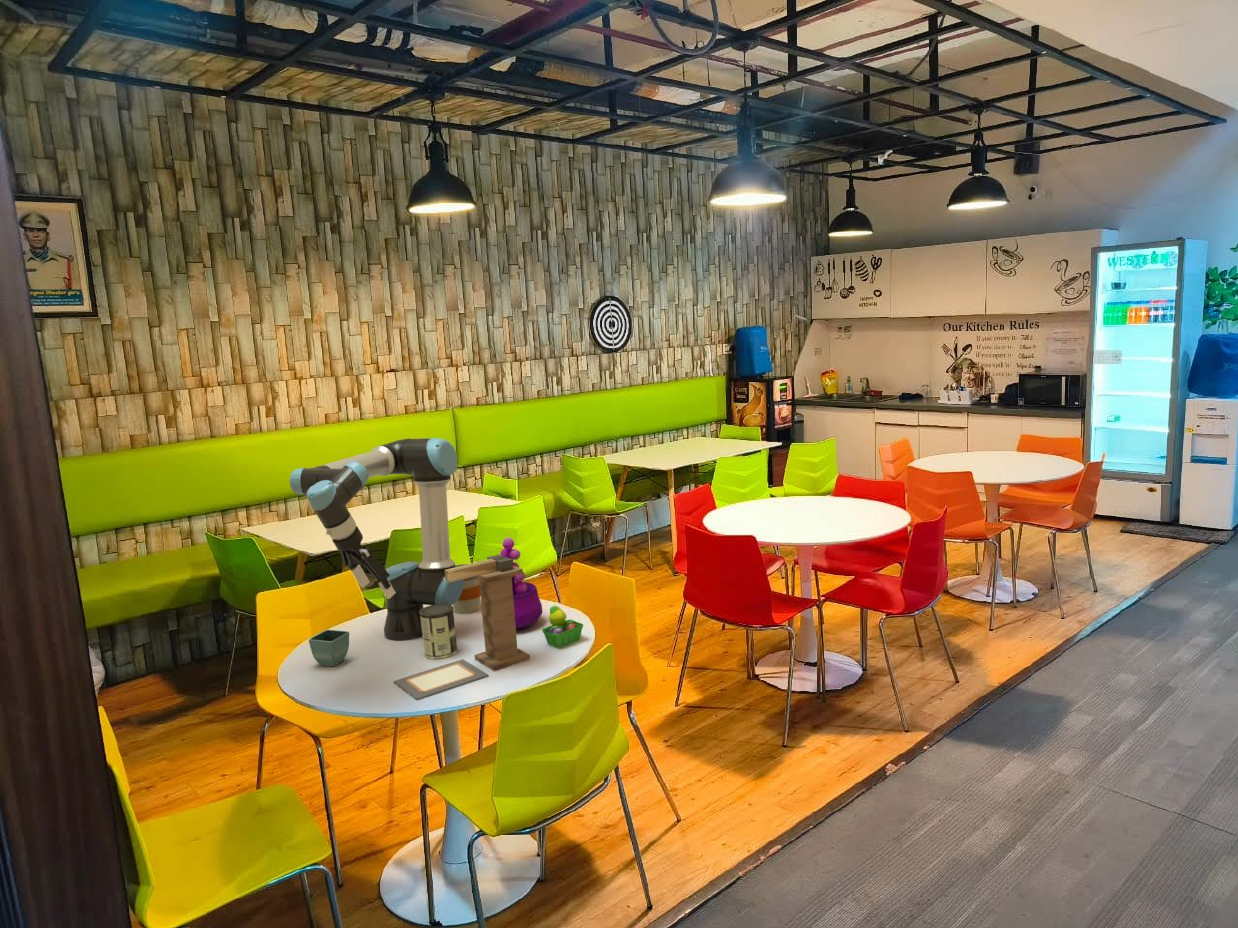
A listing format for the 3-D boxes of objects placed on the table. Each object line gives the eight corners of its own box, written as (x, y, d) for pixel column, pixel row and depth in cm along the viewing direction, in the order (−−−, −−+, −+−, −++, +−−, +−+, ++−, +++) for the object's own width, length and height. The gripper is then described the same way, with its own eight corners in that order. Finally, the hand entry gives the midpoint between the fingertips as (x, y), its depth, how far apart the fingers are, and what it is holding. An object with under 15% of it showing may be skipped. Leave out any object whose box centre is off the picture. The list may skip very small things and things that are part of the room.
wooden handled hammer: (441, 578, 243) (440, 568, 242) (499, 563, 254) (498, 554, 254) (454, 584, 237) (453, 573, 236) (513, 569, 248) (512, 559, 247)
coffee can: (444, 643, 269) (440, 601, 267) (464, 650, 262) (460, 607, 260) (417, 654, 262) (412, 610, 259) (436, 661, 254) (432, 617, 252)
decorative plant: (477, 625, 284) (469, 538, 279) (525, 611, 295) (518, 527, 290) (504, 639, 269) (496, 548, 264) (553, 624, 280) (547, 537, 275)
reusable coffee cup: (465, 617, 292) (461, 575, 290) (442, 611, 300) (437, 571, 297) (492, 606, 302) (488, 566, 299) (468, 601, 309) (464, 561, 307)
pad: (393, 682, 241) (393, 680, 241) (462, 660, 254) (462, 658, 254) (416, 700, 229) (416, 697, 228) (488, 676, 242) (488, 673, 241)
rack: (475, 659, 254) (466, 570, 250) (509, 648, 261) (502, 561, 257) (494, 671, 245) (486, 578, 240) (529, 659, 252) (522, 568, 247)
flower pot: (353, 658, 261) (350, 630, 260) (335, 670, 253) (331, 641, 252) (329, 656, 264) (326, 629, 263) (311, 667, 256) (307, 639, 254)
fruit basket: (556, 650, 258) (554, 615, 256) (539, 643, 264) (536, 609, 262) (585, 639, 265) (583, 605, 263) (568, 633, 272) (565, 599, 270)
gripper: (310, 532, 237) (345, 588, 248) (357, 550, 221) (392, 609, 231) (332, 516, 241) (365, 572, 252) (379, 532, 225) (413, 591, 235)
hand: (378, 590), depth 241 cm, fingers open, 13 cm apart
